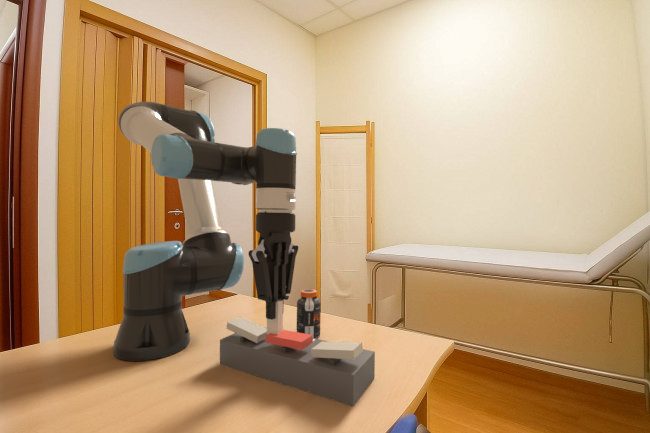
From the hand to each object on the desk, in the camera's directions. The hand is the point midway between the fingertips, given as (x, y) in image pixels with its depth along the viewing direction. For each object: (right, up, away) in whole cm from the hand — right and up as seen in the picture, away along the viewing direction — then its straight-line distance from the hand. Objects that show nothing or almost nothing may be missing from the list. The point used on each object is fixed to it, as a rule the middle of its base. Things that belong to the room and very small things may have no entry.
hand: (274, 333), depth 63 cm
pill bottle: (+6, -7, +18) cm, 21 cm away
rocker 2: (+12, -1, -6) cm, 13 cm away
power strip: (+4, -7, 0) cm, 8 cm away
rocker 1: (-6, 0, +3) cm, 7 cm away
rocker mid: (+3, 0, -2) cm, 3 cm away
